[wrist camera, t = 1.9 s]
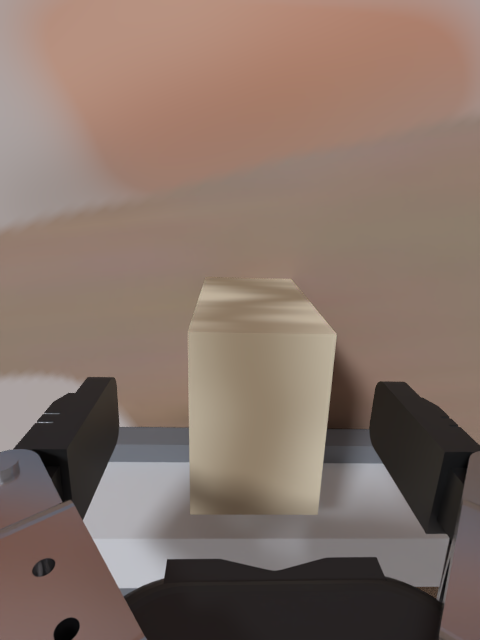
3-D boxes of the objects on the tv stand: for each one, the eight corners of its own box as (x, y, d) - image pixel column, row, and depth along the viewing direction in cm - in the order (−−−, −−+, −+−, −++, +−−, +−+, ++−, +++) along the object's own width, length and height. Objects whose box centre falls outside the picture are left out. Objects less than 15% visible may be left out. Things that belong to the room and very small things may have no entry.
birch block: (291, 278, 18) (336, 334, 10) (283, 393, 20) (317, 514, 12) (205, 277, 18) (187, 331, 10) (205, 393, 20) (190, 514, 12)
